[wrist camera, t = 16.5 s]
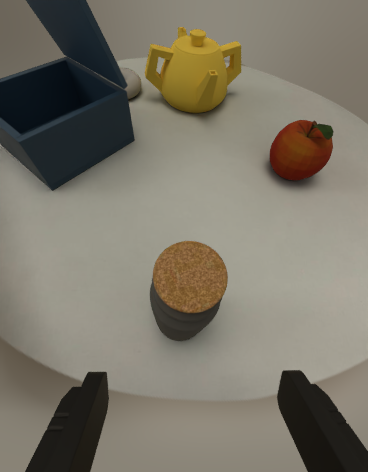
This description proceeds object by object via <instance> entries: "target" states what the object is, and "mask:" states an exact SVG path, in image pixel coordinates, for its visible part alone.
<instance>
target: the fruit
mask: <svg viewBox="0 0 368 472" xmlns="http://www.w3.org/2000/svg"><path fill="white" fill-rule="evenodd" d="M332 136H333V130H332V127H331V126H329V125H323V124H318V125H317V123H316V121H314V122H310V121H307V120H299V121H295V122H293V123H290V124H289V125H287V126H286V127H285V128H284V129H282V130H281V131H280V132H279V133H278V135H277V136H276V138H275V140H274V141H273V143H272V146H271V149H270V162H271V165H272V167H273V170H274V171H275V172H276V173H277V174H278V175H279V176H281V177H283V178H285V179H288V180H301V179H304V178H308V177H311V176H312V175H314V174H316V173H317V172H318V171H320V170H321V169H322V168H323V167H324V166H325V165H326V164H327V162H328V160H329V159H330V156H331V153H332V149H333V144H332Z"/></svg>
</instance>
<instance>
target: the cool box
mask: <svg viewBox="0 0 368 472" xmlns="http://www.w3.org/2000/svg"><path fill="white" fill-rule="evenodd" d="M133 141H134V134H133V128H132V121H131V115H130V109H129V102H128V96H127V91H126V90H124V89H122V88H120V87H119V86H117V85H115V84H114V83H112V82H110V81H108V80H107V79H105V78H103V77H101V76H100V75H98V74H96V73H94V72H93V71H91V70H89V69H88V68H86V67H84V66H82V65H81V64H79V63H77V62H75V61H74V60H72V59H70V58H69V57H64V58H61V59H58V60H55V61H52V62H49V63H46V64H43V65H40V66H37V67H34V68H31V69H28V70H25V71H22V72H19V73H16V74H13V75H10V76H7V77H4V78H1V79H0V144H1V145H2V146H3V147H4V148H6V149H7V150H8V151H9V152H10V153H11V154H12V155H13V156H14V157H16V158H17V159H18V160H19V161H20V162H21V163H22V164H23V165H24V166H26V167H27V168H28V169H29V170H30V171H31V172H32V173H33V174H34V175H36V176H37V177H38V178H39V179H40V180H41V181H42V182H43V183H44V184H46V185H47V186H48V187H49V188H50V189H51V190H52V191H53V190H54V189H56V188H58V187H59V186H61V185H62V184H64V183H66V182H67V181H69V180H71V179H72V178H74V177H76V176H77V175H79V174H80V173H82V172H84V171H85V170H87V169H89V168H90V167H92V166H94V165H95V164H97V163H98V162H100V161H102V160H103V159H105V158H107V157H108V156H110V155H111V154H113V153H115V152H116V151H118V150H120V149H121V148H123V147H125V146H126V145H128V144H129V143H131V142H133Z"/></svg>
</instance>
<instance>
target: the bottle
mask: <svg viewBox="0 0 368 472" xmlns="http://www.w3.org/2000/svg"><path fill="white" fill-rule="evenodd" d="M227 279H228V276H227V270H226V267H225V264H224V262H223V260H222V258H221V257H220V256H219V255H218V253H217V252H215V251H214V250H213V249H212V248H210V247H209V246H207V245H205V244H202V243H199V242H195V241H184V242H179V243H176V244H173V245H171V246H170V247H168V248H167V249H165V250H164V251H163V252H162V253H161V254H160V256H159V257H158V259H157V261H156V263H155V266H154V270H153V279H152V284H151V288H150V302H151V307H152V310H153V313H154V316H155V319H156V322H157V324H158V326H159V328H160V330H161V332H162V333H163V334H164V335H165V336H167V337H168V338H170V339H172V340H176V341H183V340H188V339H190V338H192V337H193V336H195V335H196V334H197V333H199V332H200V331H201V330H202V329H203V328H204V327H205V326H207V325H208V324H209V323H210V322H211V321H212V319H213V318H214V317H215V315H216V313H217V311H218V309H219V306H220V302H221V299H222V296H223V295H224V292H225V290H226V287H227Z"/></svg>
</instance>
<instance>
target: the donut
mask: <svg viewBox="0 0 368 472" xmlns="http://www.w3.org/2000/svg"><path fill="white" fill-rule="evenodd" d="M119 68H120V70H121V72H122V74H123V76H124V78H125V80H126V82H127V85H128V86H127V87H126V88H125V89H124V90H126V91H127V96H128V99H130V98H132V97H135V96H136V95H137V94H138V93H139V91H140V90H141V79H140V77H139V76H138V75H137V74H136V73H135V72H134V71H132V70H130V69H127V68H121V67H119ZM101 77H102V76H101ZM103 78H104V77H103ZM105 79H106V78H105ZM108 81H109V80H108ZM110 82H111V81H110ZM112 83H113V82H112ZM115 85H116V84H115ZM117 86H118V85H117ZM120 88H121V87H120ZM122 89H123V88H122Z"/></svg>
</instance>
